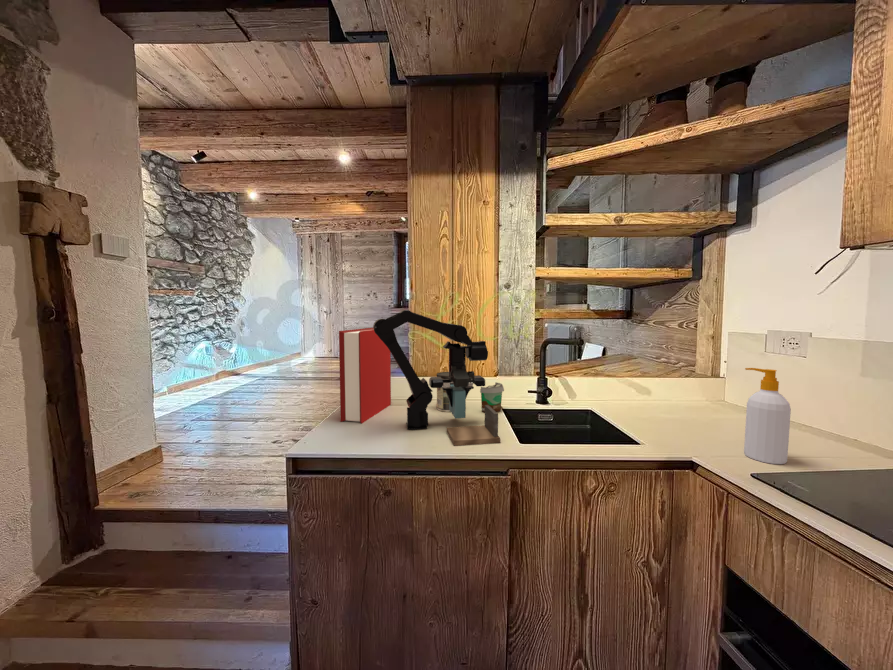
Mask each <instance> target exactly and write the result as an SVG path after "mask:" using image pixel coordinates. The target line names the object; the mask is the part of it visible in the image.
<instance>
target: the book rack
mask: <svg viewBox="0 0 893 670" xmlns="http://www.w3.org/2000/svg"><path fill="white" fill-rule="evenodd" d="M446 434H447V435H448V438H449V440H450V441H451V443H452V445H453V447H458V446H460V447H461V446H471V445H472V446H474V445H475V446H476V445H487V444H488V445H490V444H500V443H501V436H499V412H496V411H495V410H493V409H492V408H491V407H490V406H489V405H485V413H484V424H483V425H482V424H481V425H470V426H469V425H467V426H466V425H465V426H451V427H448V426H447V427H446Z"/></svg>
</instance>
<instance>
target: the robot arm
mask: <svg viewBox="0 0 893 670" xmlns="http://www.w3.org/2000/svg"><path fill="white" fill-rule="evenodd" d="M406 323H409V324H411V325H415V326H418V327H421V328H423V329H427V330H430V331H432V332H436V333H438V334H440V335H441V336H443V337H445V338H447V339H449V340H450V341H449V340H447V341H446V343H445V344H444V345H442V348H443V349H445V350H448V372H449V379H442V378H441V377H437V376H430V378H429V379H428V381H427V380H426V378H424V377H423V378H422V379H420V378H419V376H418V374H417V373H416V371H415V369H414V367H413V366H412V364H411V363H410V361H409V359H408V358H407V355H406V354H405V352H404V351H403V348H402V347H401V345H400V344H399V342H398V340H397V335H396V332H395V329H397V328H399V327H401V326H403V325H404V324H406ZM372 328H373V330H374V332H375V333H376V334H377V335H378V337H379V338H380V339H381V340H382V341H383V342H384V344H385V345H386V346H387V347H388V349H389V350H390V355H391V356H392V358H393V359H394V361H395V362H396V364H397V366H398V368H399V369H400V370H401V371H400V372H402V374H403V376H404V377H405V379H406V381H407V383H408V386H409V390H410V392H411V395H409V397H408V398H406V399H405V400H406V401H405V402H406V404H407V406H408V407H406V428H407V430H426V429H428V426H429V412H428V411H427V407H428V405H429V404H430V403H431V402H432V401H433V397H434V396H433V393H432V392H434V391H433V389H437V388H442V389H443V390H445V392H446V394H447V396H448V399H449V402H450V405H451V407H452V393H451V391H452V388H451V387H450V384H454V386H455V387H462V388H463V389H464V390H465V391H466V398H467V397H468V395H469V393H470V391H471V390H473V389H474V388H475V387H474V385H475V386H476V387H486V378H484V377H483V376H482V375H475V371H474V370H469V371H467V365H466V359H468V361H469V362H477V361H478V362H479V361H480V362H481V361H482V362H483V361H487V360H488V357H489V351H488V348H487V344H486V343H487V342H486V341H484V340H479V341H473V340H472V339H471V338H470V337H469V334H468V330H467V328H466V327H465V326H463V325H461V324H454V323H448V322H442V321H439V320H437V319H433V318H430V317H427V316H424V315H421V314H419V313H415V312H413V311H411V310H410V309H403V310H401V311H400V312H398V313H395V314H393V315H391V316H389V317H387V318H378V319H377V320H375V321H374V323H373V325H372ZM451 341H453V342H456V343H453V342H452V343H451ZM460 344H462V345H460ZM451 381H453V382H451Z"/></svg>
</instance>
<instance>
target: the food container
mask: <svg viewBox="0 0 893 670" xmlns="http://www.w3.org/2000/svg"><path fill="white" fill-rule="evenodd" d="M504 391H505V388H504V385H503V384H502V383H500V382H495V384H493V385H488V386H480V390H479V392H480V398H481V413H483V414H485V405H489V406H490V407H491V408H492V409H493V410H495V411H496V412H497V413H499V412H501V411H502V410H501V409H502V398H503V392H504Z"/></svg>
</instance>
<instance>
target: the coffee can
mask: <svg viewBox="0 0 893 670" xmlns="http://www.w3.org/2000/svg"><path fill="white" fill-rule="evenodd" d="M436 377H441V378H442V379H449V371H440V372H437V373H436ZM451 382H453V381H451ZM450 385H454V384H450ZM436 410H437V411H440V412H444V413H451V411H450V410H449V399H448V396H447V394H446V392H445V390H443V389H442V388H436Z"/></svg>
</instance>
